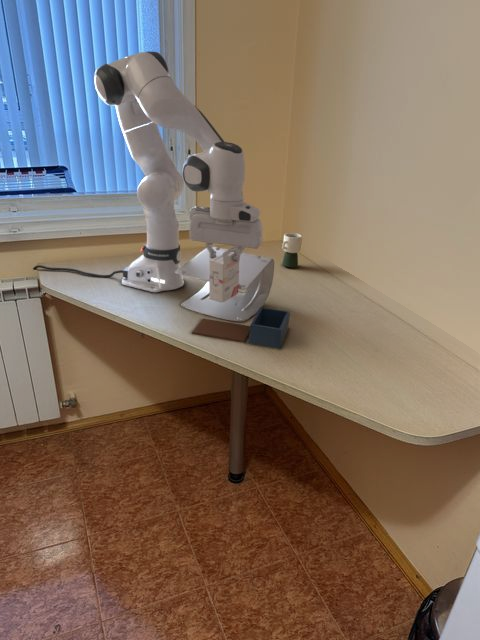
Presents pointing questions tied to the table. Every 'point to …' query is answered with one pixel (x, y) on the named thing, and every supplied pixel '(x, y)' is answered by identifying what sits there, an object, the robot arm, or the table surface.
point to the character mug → (291, 249)
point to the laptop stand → (251, 277)
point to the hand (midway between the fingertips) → (224, 259)
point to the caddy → (269, 327)
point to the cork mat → (222, 330)
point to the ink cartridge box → (224, 276)
